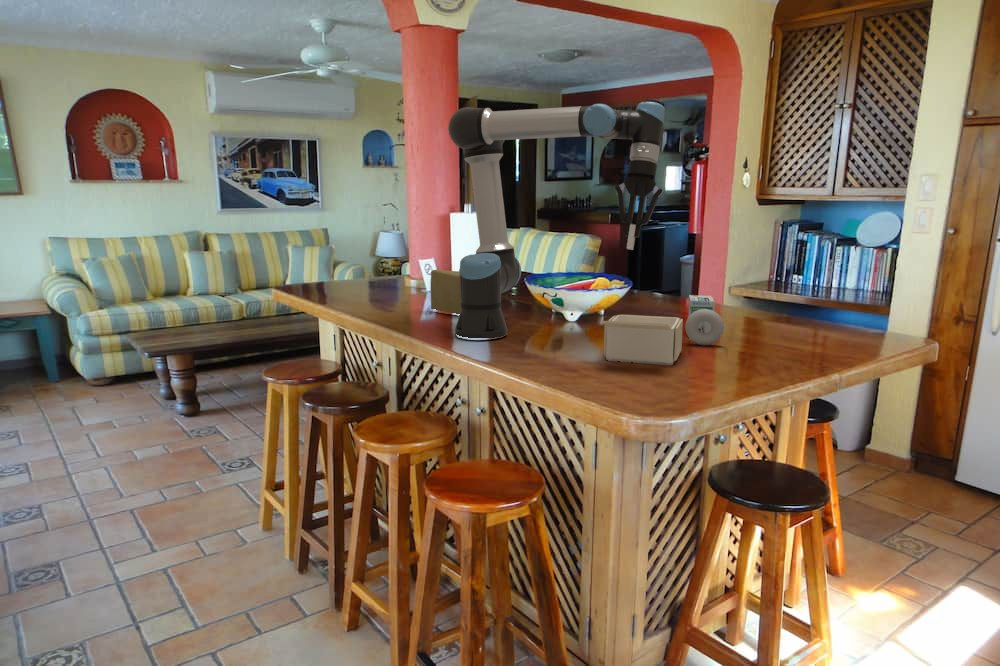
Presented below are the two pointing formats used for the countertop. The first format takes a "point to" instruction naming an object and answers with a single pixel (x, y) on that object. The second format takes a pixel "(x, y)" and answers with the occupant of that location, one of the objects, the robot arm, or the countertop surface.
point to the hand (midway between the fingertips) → (629, 248)
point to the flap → (637, 325)
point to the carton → (643, 341)
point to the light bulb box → (701, 303)
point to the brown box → (445, 291)
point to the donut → (709, 317)
